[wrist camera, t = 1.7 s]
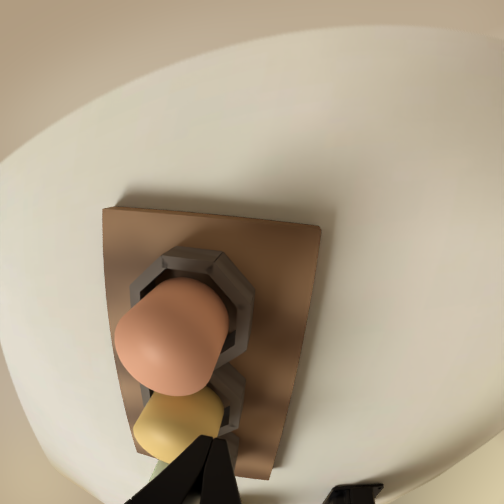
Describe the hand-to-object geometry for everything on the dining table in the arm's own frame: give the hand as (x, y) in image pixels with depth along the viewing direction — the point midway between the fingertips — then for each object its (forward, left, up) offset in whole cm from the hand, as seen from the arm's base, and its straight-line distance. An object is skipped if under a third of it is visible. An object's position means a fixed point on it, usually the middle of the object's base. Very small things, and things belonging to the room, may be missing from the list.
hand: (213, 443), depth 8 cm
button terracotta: (0, +3, -9) cm, 9 cm away
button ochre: (-7, +3, -9) cm, 12 cm away
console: (-7, +3, -12) cm, 15 cm away
